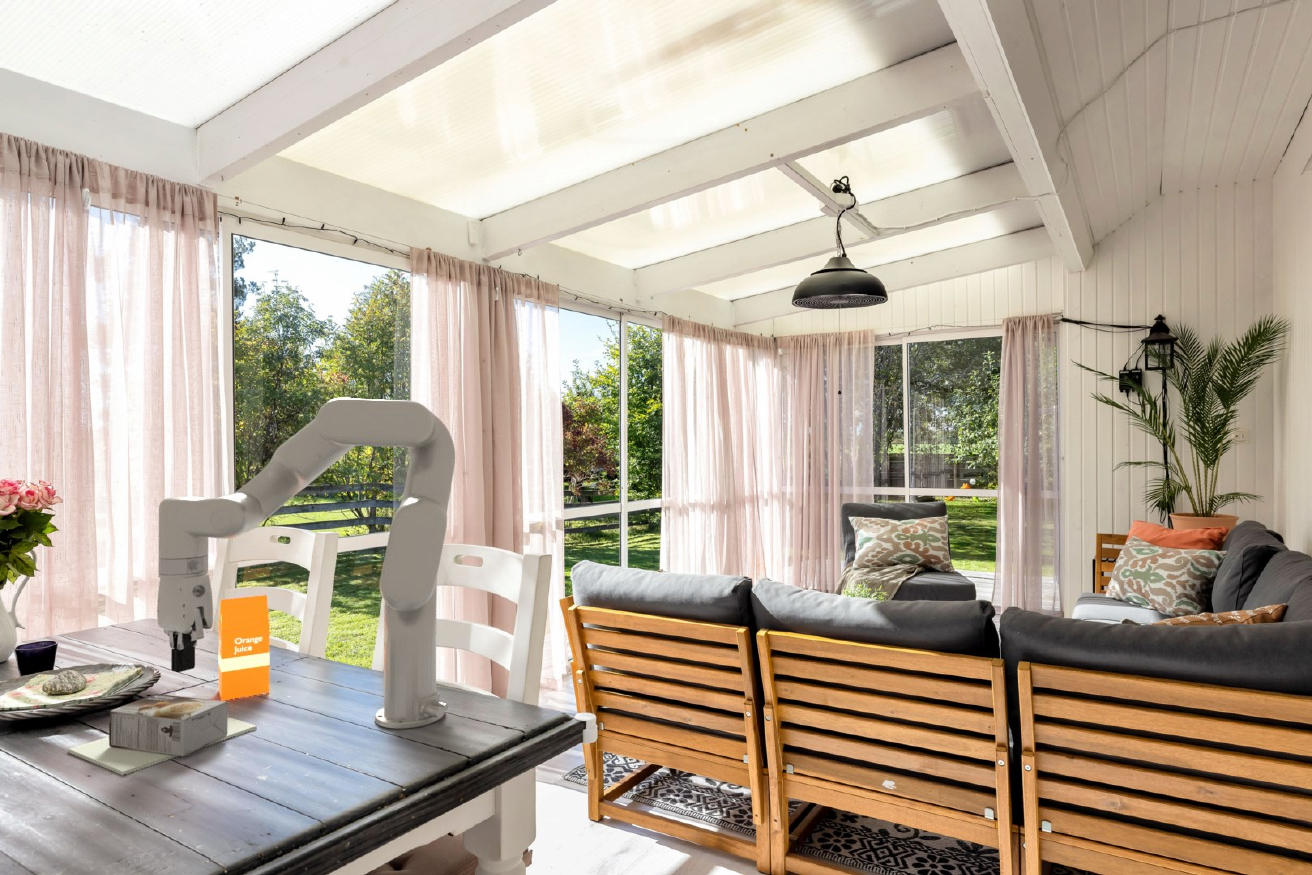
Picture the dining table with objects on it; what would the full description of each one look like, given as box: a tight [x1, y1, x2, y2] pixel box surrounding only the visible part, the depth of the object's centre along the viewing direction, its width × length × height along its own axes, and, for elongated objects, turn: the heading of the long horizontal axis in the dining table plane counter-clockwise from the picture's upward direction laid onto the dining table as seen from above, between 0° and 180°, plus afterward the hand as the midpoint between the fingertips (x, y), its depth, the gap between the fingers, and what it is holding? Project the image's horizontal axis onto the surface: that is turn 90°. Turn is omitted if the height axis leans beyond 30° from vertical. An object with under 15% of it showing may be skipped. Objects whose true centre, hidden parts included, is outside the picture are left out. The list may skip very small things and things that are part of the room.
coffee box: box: [108, 693, 229, 757], centre depth 130 cm, size 9×6×16 cm
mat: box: [67, 716, 258, 776], centre depth 132 cm, size 18×22×1 cm
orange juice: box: [217, 594, 271, 701], centre depth 158 cm, size 8×9×20 cm
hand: (183, 669), depth 133 cm, fingers closed
